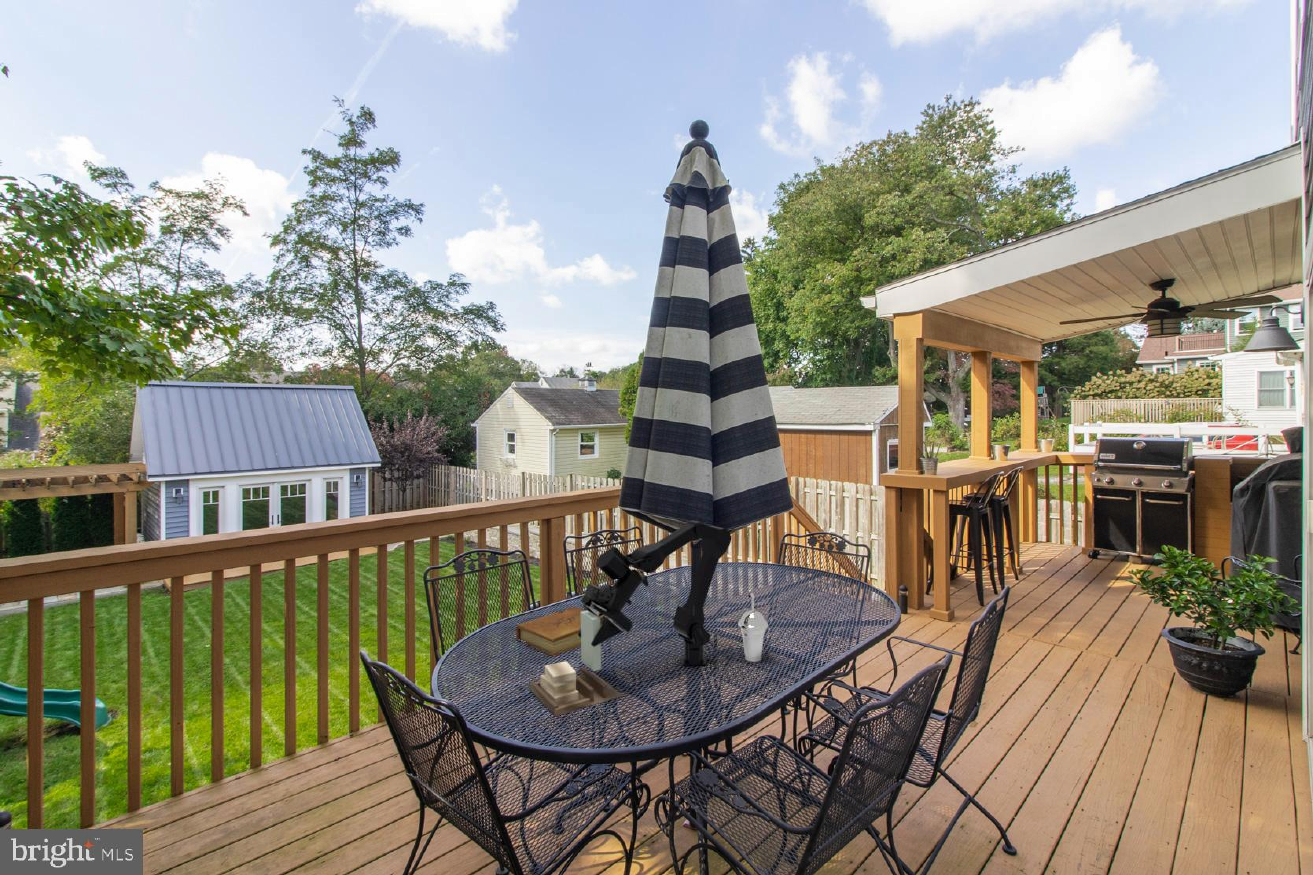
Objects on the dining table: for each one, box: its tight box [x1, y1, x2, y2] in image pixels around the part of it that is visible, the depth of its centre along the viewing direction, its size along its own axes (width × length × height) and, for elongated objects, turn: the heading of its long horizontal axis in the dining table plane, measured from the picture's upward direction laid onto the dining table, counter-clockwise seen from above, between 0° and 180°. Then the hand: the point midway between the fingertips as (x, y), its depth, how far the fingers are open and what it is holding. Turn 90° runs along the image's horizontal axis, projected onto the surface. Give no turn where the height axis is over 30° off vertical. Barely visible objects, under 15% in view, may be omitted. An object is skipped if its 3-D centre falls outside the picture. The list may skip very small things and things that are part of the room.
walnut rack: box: [529, 666, 624, 717], centre depth 146 cm, size 18×16×4 cm
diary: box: [515, 606, 609, 657], centre depth 185 cm, size 23×19×6 cm
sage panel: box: [580, 610, 602, 672], centre depth 148 cm, size 2×7×13 cm, turn 33°
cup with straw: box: [737, 592, 769, 663], centre depth 167 cm, size 8×9×20 cm
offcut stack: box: [539, 661, 578, 706], centre depth 143 cm, size 7×9×7 cm
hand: (585, 640), depth 147 cm, fingers closed on sage panel, 7 cm apart
